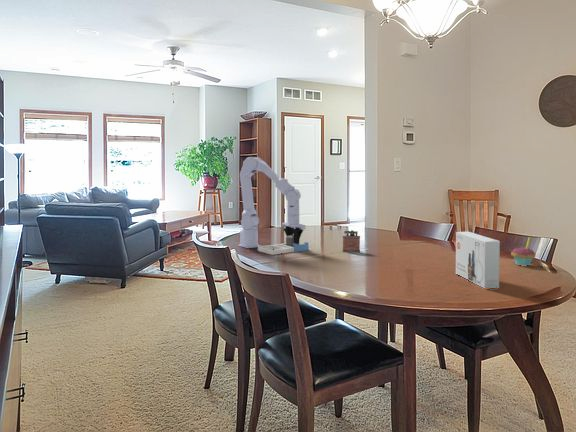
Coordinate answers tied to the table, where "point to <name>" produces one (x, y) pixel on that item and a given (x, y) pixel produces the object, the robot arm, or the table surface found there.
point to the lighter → (351, 242)
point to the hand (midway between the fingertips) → (293, 243)
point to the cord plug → (290, 240)
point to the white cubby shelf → (283, 248)
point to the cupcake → (523, 255)
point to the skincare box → (478, 259)
